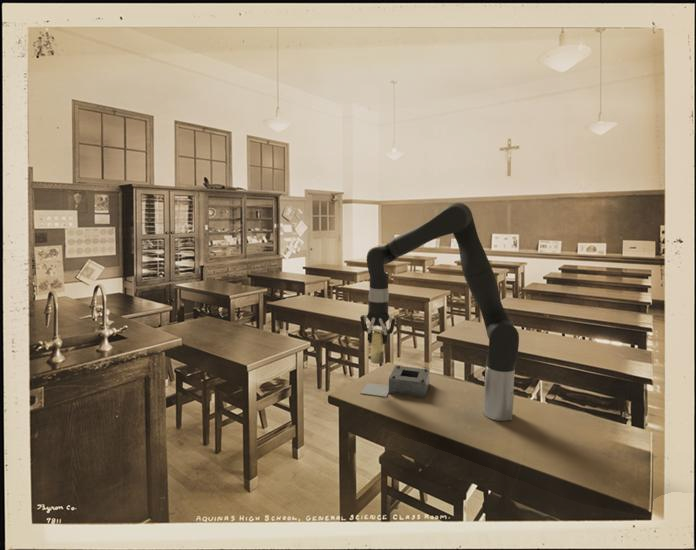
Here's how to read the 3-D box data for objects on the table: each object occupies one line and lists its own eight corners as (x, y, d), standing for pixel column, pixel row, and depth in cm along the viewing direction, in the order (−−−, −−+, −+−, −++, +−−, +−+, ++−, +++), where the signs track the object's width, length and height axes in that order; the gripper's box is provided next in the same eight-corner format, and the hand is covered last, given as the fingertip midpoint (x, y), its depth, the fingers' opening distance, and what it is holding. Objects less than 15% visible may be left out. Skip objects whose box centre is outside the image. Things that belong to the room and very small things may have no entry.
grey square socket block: (429, 383, 166) (429, 368, 165) (425, 398, 153) (426, 381, 152) (394, 379, 170) (395, 364, 169) (388, 393, 157) (388, 376, 156)
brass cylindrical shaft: (384, 359, 159) (385, 330, 157) (382, 364, 154) (383, 333, 152) (372, 358, 160) (373, 328, 159) (369, 362, 156) (370, 332, 154)
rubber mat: (391, 386, 162) (391, 385, 162) (386, 397, 153) (386, 396, 153) (367, 383, 165) (367, 382, 165) (360, 393, 156) (360, 392, 156)
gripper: (399, 298, 155) (397, 342, 158) (362, 296, 159) (361, 338, 162) (395, 302, 148) (394, 347, 150) (357, 300, 152) (356, 344, 155)
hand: (377, 342), depth 156 cm, fingers closed on brass cylindrical shaft, 5 cm apart
